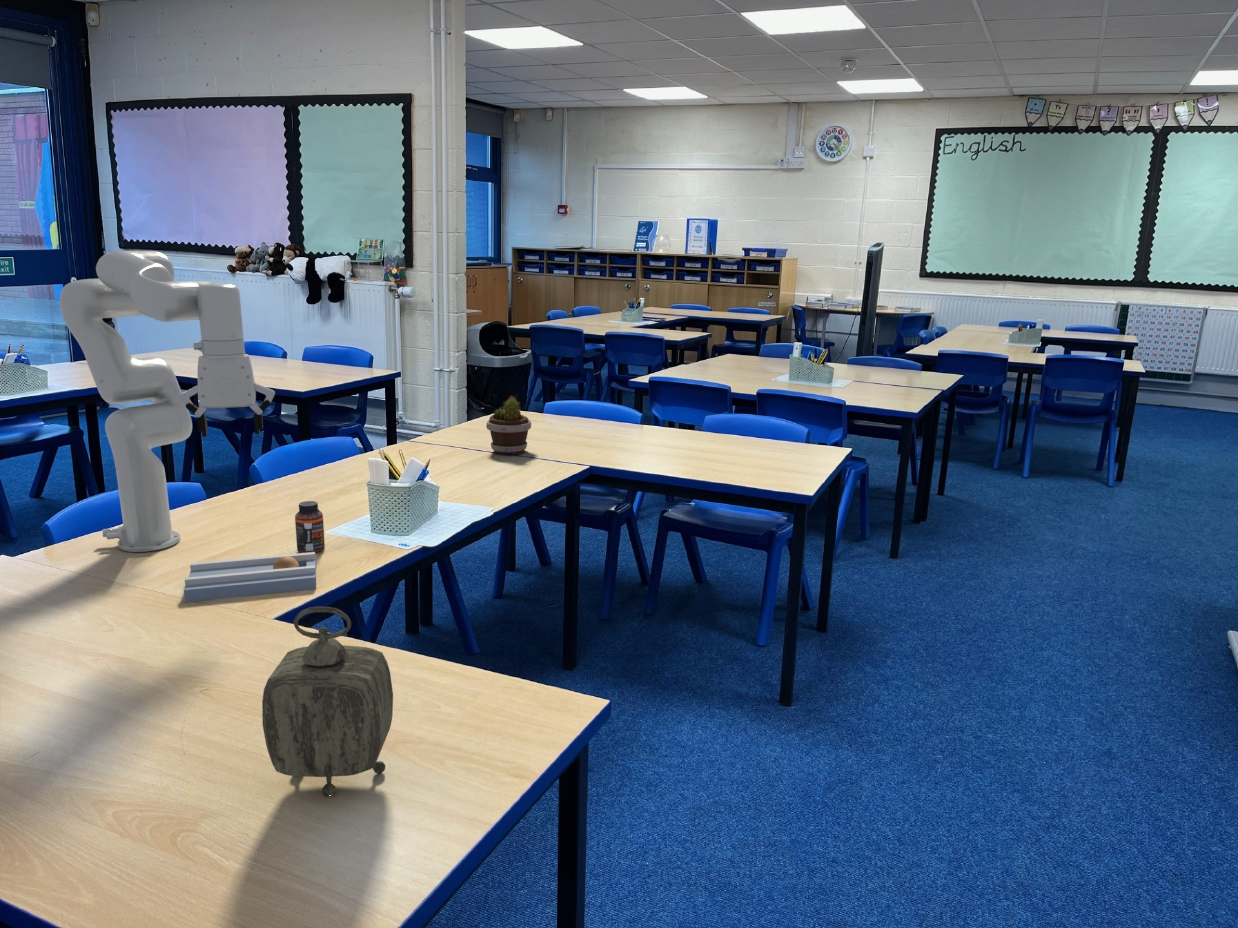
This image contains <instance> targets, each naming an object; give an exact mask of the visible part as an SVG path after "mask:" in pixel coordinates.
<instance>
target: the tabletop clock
mask: <svg viewBox="0 0 1238 928" xmlns="http://www.w3.org/2000/svg"><path fill="white" fill-rule="evenodd" d="M312 613H313V614H314V613H330V614H336V615H338V616H340V617H341V618H343V619H344V620H345V622H346V627H345V628H344V629H342V630H340V631H337V632H336V631H335V632H328V631H329V630H328V628H327V627H325V626H322V627H320V628H319V629H318V632H312V631H307V630H305V629H302V628H300V626H299V620H300V619H301V618H302V617H304V616H306V615H308V614H312ZM293 625H294V626H293V627H294V628H295V630H296V631H297V632H298V633H299V634H301V636H303V637H304V636H305V637H308V638H310V639H315V640H312V641H311V643H310V644H309V645H308V646H301V647H298V648H295V649H292V650H289V651H288V652H286V654H285V655H284V657H283V658H282V659H281V661H280V662H279V664H278V665H277V666H276V667H275V669H274V670H273V672H272V673H271V674H270V676H269V677H268V679H267V681H266V684H265V686H264V688H263V694H262V705H261V706H262V708H261V709H262V711H261V712H262V716H261V717H262V720H261V721H262V729H263V730H262V731H263V734H264V739H265V746H266V749H267V752H268V755H269V758H270V761H271V764H272V766H273V768H274V770H275V771H276V772H277V773H278V774H282V775H285V776H288V777H289V776H290V777H291V776H292V777H307V778H308V777H310V778H311V777H312V778H325V779H326V783H325V784H324V785H323V787H322V789H321V791H322V794H323V795H324V796H325V795H326V796H325V797H327V796H329V795H332V794H333V795H334V794H335V793H336V786H335V785H334V784H333V783H332V780H333V779H332V778H333V777H347V776H348V777H349V776H355V775H358V774H361V773H364V772H366V771H367V772H368V771H369V770H373V772H374V773H375V774H378V775H379V774H383V772H385V770H386V764H385V763H384V761H381V760H378V759H379V757H380V754H381V752H382V749H383V746H384V744H385V742H386V740H387V737H388V734H389V731H390V729H391V726H392V721H393V713H394V712H393V709H394V708H393V707H394V691H393V685H392V684H393V682H392V677H391V676H392V675H391V671H390V668H389V664H388V661H387V658H386V657H385V654H383V651H380V650H377V649H375V648H371V647H367V646H359V645H358V646H357V645H343V644H342V643H341V642H340V641H339V640H337V639H336V638H339V637H343V636H344V635H345V634H346V633H348V632H349V631H350V629H351V627H352V621H351V619H350V617H349V615H347V613H345V612H344V611H342V610H340V609H338V608H336V607H331V606H313V607H312V606H311V607H308V608H305V609H303V610H301V611H299V612H298V613H297V615H295V617H294V619H293ZM334 792H335V793H334ZM333 795H332V796H333Z"/></svg>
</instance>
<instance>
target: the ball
mask: <svg viewBox="0 0 1238 928" xmlns="http://www.w3.org/2000/svg"><path fill="white" fill-rule="evenodd" d="M294 567H299V564H298V562H297V561H296V560H295V559H294V558H292V557H290V556H284V557H281V558H279V559H278V560H277V561H276V562H275V564H274V567H273V569H283V568H294Z"/></svg>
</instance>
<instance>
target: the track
mask: <svg viewBox="0 0 1238 928" xmlns="http://www.w3.org/2000/svg"><path fill="white" fill-rule="evenodd" d="M284 556H290V557H292V558H294V559H295V560H296V561H297V562H298V564H299V567H294V568H283V569H273V567H274V564H275V562H276V561H277V560H278V559H279V558H281V557H284ZM316 559H317V558H316V554H315V552H310V553H299V552H298V553H291V554H290V553H289V554H279V555H277V554H275V555H268V556H255V557H254V556H253V557H244V558H231V559H224V560H223V559H222V560H213V561H202V562H201V561H199V562H190V565H189V566H190V567H189V568H190V572H189V575H188V577H185V579H184V588H183V595H184V598H183V599H184V603H189V602H199V601H200V602H201V601H209V600H219V599H229V598H230V599H231V598H238V597H239V598H240V597H249V596H259V595H269V594H279V593H287V592H289V593H290V592H299V591H309V590H316V589H317V560H316Z"/></svg>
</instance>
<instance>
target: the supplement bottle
mask: <svg viewBox="0 0 1238 928" xmlns="http://www.w3.org/2000/svg"><path fill="white" fill-rule="evenodd" d="M294 523H295V539H296V550H297V552H298V554H299V553H310V552H315V555H317V554H318V555H319V554H320V553H322V552H323V551H324V550H325V545H326V543H325V528H324V527H325V526H324V514H323V512H322V511H321V510H320V508H319V503H318V502H317V501H314V500H306V501H301V502H300V503H298V512H296V513H295V516H294Z"/></svg>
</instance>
